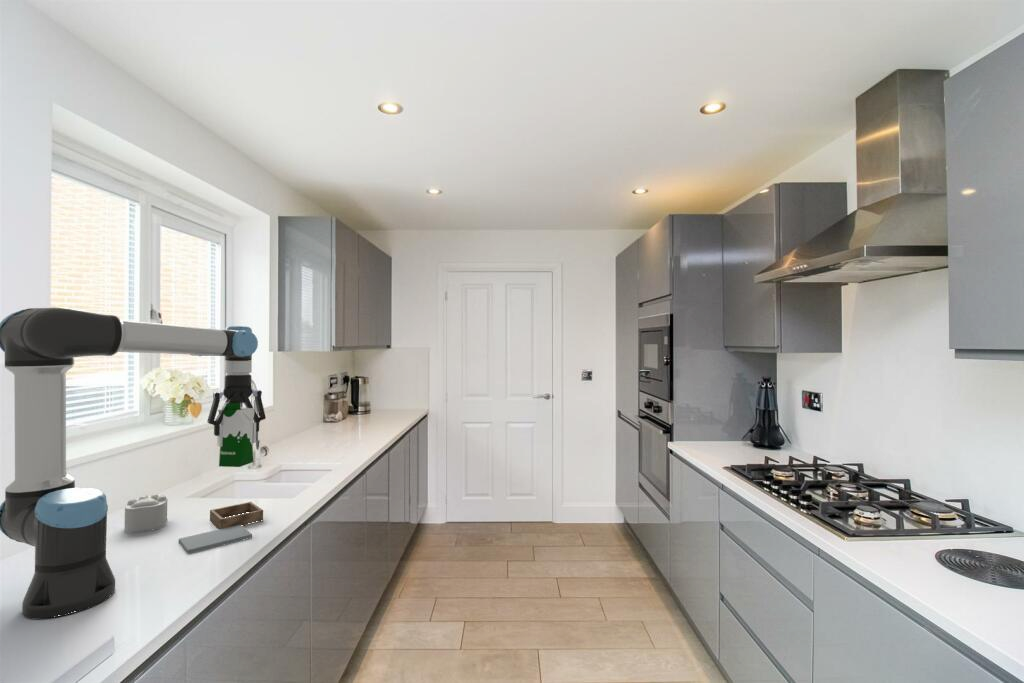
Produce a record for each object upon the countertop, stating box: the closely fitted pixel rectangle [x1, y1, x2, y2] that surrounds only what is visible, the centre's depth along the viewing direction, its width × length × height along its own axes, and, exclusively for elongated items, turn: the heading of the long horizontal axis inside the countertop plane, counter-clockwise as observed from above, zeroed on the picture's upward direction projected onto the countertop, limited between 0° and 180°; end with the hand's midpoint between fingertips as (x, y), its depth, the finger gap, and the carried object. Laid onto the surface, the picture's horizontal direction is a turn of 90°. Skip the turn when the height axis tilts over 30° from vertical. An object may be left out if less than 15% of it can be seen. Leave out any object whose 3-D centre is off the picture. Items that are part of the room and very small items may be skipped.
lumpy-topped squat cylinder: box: [124, 493, 168, 534], centre depth 153 cm, size 10×13×9 cm
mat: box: [178, 525, 253, 555], centre depth 141 cm, size 16×11×1 cm
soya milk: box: [217, 402, 257, 468], centre depth 156 cm, size 9×9×20 cm
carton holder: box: [209, 501, 264, 530], centre depth 156 cm, size 12×12×4 cm
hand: (236, 443), depth 156 cm, fingers closed on soya milk, 9 cm apart
